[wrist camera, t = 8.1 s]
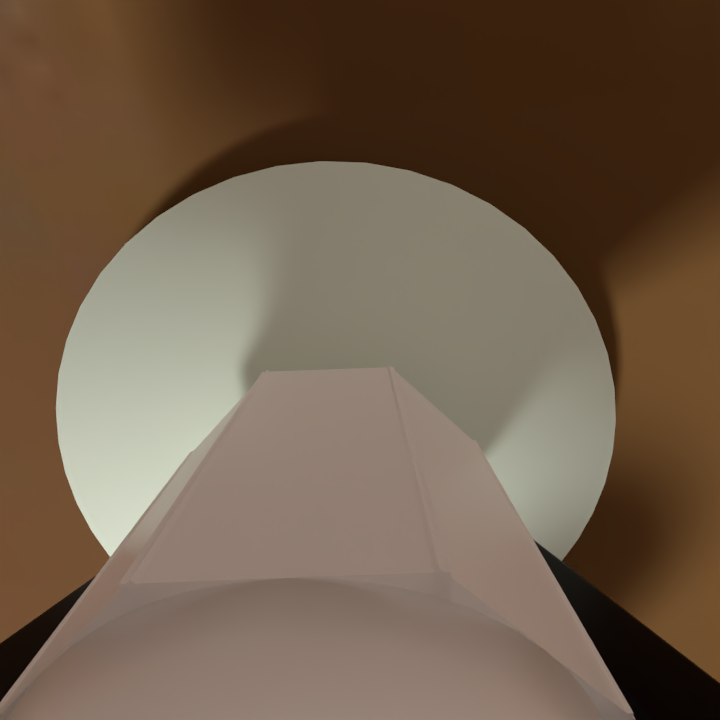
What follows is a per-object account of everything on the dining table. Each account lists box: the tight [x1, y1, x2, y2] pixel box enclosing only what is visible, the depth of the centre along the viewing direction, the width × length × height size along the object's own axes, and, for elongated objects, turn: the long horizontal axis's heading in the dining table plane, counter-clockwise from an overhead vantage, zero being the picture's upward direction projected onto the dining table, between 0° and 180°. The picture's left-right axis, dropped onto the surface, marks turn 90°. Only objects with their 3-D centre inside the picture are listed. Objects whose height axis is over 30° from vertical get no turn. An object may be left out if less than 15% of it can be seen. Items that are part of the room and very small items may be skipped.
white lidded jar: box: [0, 365, 636, 720], centre depth 6 cm, size 6×6×6 cm
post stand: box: [56, 161, 616, 561], centre depth 9 cm, size 14×14×6 cm
